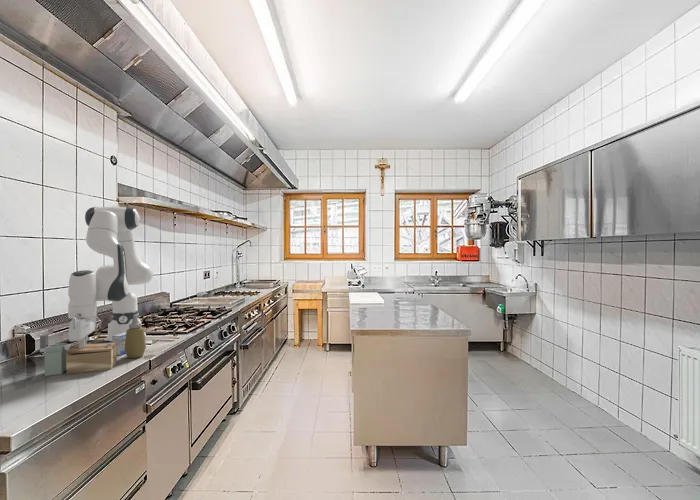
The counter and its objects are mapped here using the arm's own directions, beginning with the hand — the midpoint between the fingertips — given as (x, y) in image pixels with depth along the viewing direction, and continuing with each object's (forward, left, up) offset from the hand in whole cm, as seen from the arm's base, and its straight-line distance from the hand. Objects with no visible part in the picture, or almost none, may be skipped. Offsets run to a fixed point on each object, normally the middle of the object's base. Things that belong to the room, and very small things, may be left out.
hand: (82, 347), depth 136 cm
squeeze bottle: (-10, +16, -9) cm, 21 cm away
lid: (0, +3, -1) cm, 3 cm away
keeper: (0, -8, -8) cm, 12 cm away
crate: (0, +3, -8) cm, 9 cm away
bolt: (0, -8, 0) cm, 8 cm away
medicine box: (-19, +10, -9) cm, 24 cm away
